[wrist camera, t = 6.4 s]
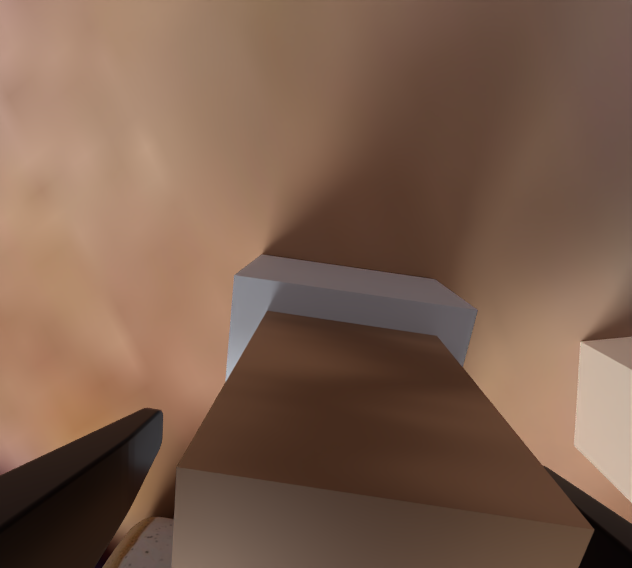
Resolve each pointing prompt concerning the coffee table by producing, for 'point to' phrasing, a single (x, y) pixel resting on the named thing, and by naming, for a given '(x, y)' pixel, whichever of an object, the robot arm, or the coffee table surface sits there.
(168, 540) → the ceramic mug
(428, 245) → the coffee table surface
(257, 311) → the light gray block
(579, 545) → the walnut block
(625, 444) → the cream block
